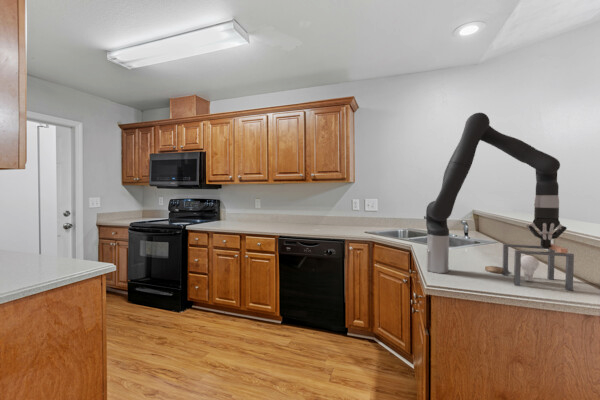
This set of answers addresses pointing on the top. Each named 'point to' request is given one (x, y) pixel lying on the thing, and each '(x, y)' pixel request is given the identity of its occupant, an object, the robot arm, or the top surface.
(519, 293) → the top surface
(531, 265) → the lightbulb
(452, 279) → the top surface
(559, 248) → the bar
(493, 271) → the pad
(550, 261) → the frame
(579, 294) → the top surface
